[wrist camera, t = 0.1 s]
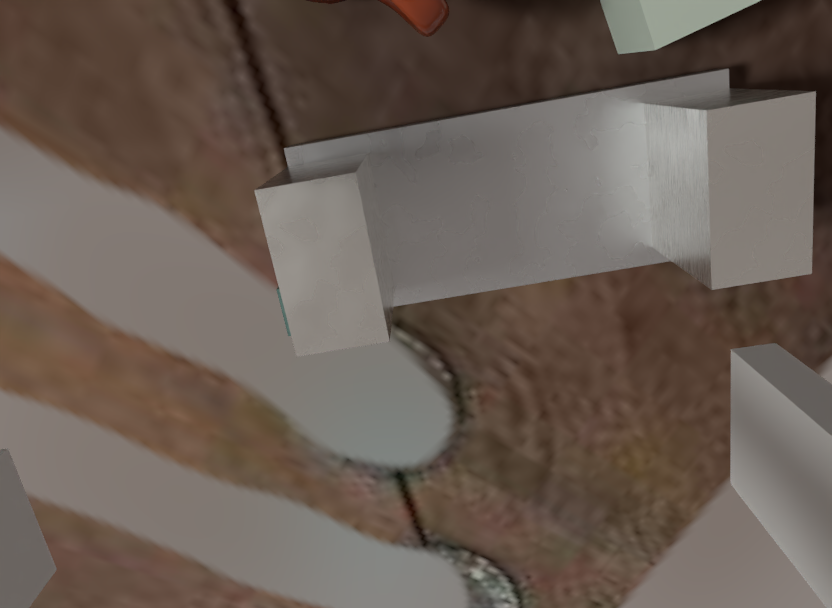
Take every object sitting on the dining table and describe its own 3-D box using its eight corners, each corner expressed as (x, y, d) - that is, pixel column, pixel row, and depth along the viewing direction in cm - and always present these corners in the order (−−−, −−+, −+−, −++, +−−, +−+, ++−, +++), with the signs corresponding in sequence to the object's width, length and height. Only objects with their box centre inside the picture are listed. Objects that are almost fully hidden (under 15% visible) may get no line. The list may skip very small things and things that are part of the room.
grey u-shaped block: (282, 146, 37) (240, 168, 28) (723, 67, 36) (825, 64, 27) (321, 310, 41) (294, 376, 32) (726, 243, 39) (819, 293, 30)
